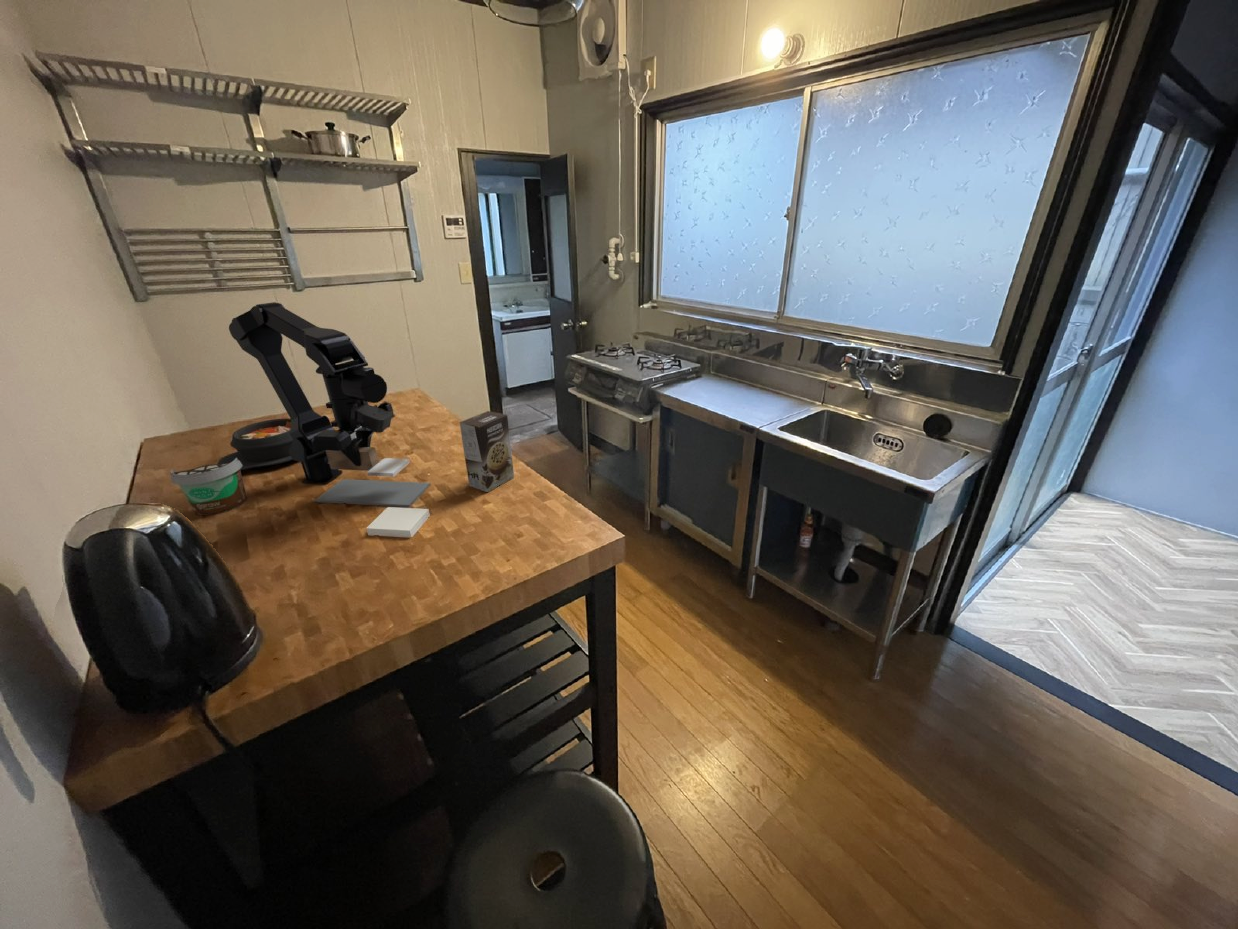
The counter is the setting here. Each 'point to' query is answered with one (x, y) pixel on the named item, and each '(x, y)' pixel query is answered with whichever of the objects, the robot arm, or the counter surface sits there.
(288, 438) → the casserole
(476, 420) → the coffee box
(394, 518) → the glazed tile
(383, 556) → the counter surface
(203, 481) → the food container
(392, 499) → the rest mat
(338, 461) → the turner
